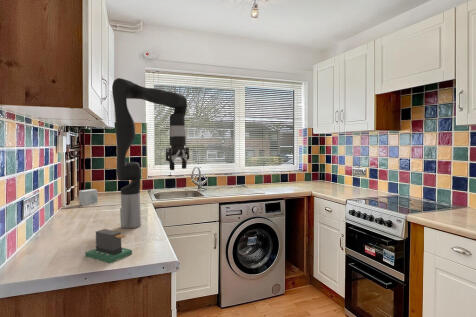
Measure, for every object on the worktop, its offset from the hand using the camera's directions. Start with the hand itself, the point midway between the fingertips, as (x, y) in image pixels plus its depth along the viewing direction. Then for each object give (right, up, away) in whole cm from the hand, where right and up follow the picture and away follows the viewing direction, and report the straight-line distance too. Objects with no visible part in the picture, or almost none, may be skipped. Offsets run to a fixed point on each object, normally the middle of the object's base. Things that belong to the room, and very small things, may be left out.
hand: (178, 169), depth 141 cm
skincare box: (-78, -28, +68) cm, 107 cm away
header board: (-21, -32, -28) cm, 47 cm away
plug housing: (-19, -29, -29) cm, 46 cm away
